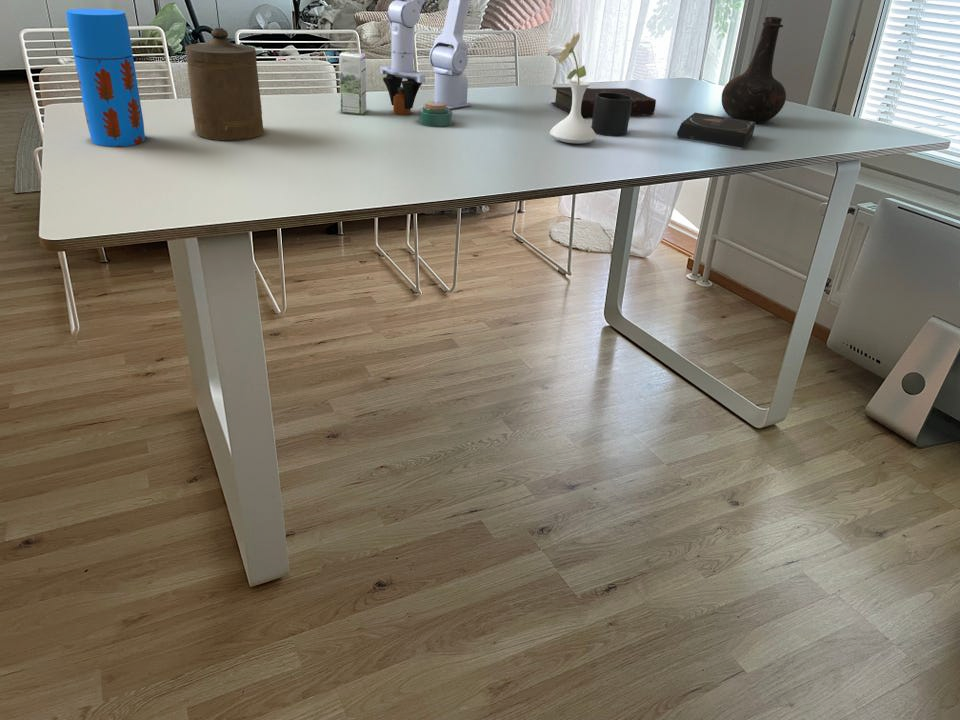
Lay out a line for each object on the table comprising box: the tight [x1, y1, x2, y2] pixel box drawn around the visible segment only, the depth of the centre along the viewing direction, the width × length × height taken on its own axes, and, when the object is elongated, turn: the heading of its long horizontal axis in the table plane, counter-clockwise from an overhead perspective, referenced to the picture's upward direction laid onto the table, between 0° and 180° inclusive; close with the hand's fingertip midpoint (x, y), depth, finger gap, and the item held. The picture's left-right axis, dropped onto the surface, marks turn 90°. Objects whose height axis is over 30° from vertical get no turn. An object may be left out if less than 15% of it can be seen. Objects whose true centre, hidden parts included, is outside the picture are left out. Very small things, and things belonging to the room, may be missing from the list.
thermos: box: [65, 8, 146, 148], centre depth 152 cm, size 11×11×25 cm
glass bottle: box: [721, 16, 787, 124], centre depth 213 cm, size 18×18×28 cm
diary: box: [550, 86, 657, 117], centre depth 217 cm, size 19×25×5 cm
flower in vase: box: [549, 32, 597, 144], centre depth 177 cm, size 13×11×25 cm
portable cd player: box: [676, 112, 757, 150], centre depth 196 cm, size 16×17×4 cm
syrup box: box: [338, 51, 367, 115], centre depth 192 cm, size 6×6×14 cm
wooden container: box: [185, 27, 264, 141], centre depth 164 cm, size 15×15×22 cm
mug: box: [590, 93, 632, 137], centre depth 193 cm, size 9×12×9 cm
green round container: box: [418, 100, 454, 128], centre depth 190 cm, size 9×9×5 cm
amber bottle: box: [392, 86, 412, 116], centre depth 197 cm, size 5×5×6 cm
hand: (401, 106), depth 198 cm, fingers closed on amber bottle, 4 cm apart
